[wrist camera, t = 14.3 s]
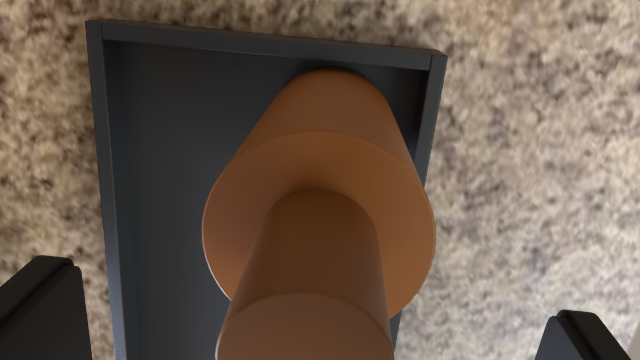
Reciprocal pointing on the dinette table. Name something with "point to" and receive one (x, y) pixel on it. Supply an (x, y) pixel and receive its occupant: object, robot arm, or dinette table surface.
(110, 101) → the tray
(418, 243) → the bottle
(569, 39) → the dinette table surface
